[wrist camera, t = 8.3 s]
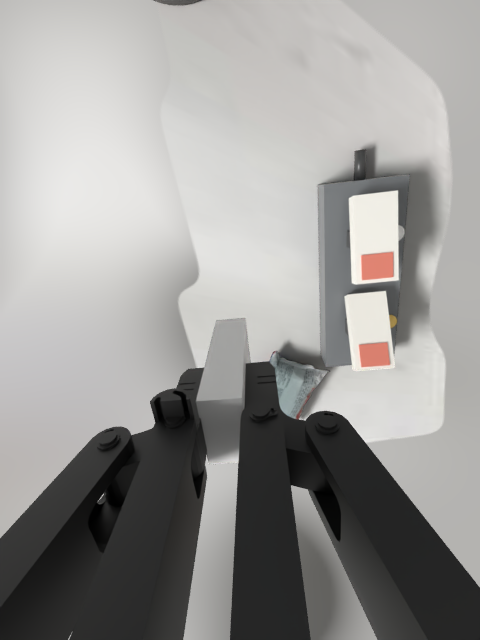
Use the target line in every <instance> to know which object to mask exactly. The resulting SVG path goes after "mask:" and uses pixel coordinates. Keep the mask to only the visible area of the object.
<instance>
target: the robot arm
mask: <svg viewBox="0 0 480 640" xmlns="http://www.w3.org/2000/svg"><path fill="white" fill-rule="evenodd" d="M154 1H157V2H160V3H163V4H168V5H186V4H191V3H194V2H197V1H200V0H154ZM150 404H151V408H152V411H153V414H154V419H155V425H154V427H153V428H152V429H150V430H147V431H144V432H141V433H138V434H134V435H131V434H130V432H129V430H128V429H127V428H124V427H112V428H109V429H106V430H104V431H102V432H100V433H98V434H97V435H96V436H95V437H93V438H92V439H91V440H90V441H89V442H88V444H87V445H86V446H85V447H84V448H83V449H82V450H81V451H80V452H79V453H78V454H77V456H76V457H75V458H74V459H73V460H72V461H71V462H70V463H69V464H68V465H67V466H66V468H65V469H64V470H63V471H62V472H61V473H60V474H59V475H58V476H57V477H56V478H55V479H54V481H53V482H52V483H51V484H50V485H49V486H48V487H47V488H46V489H45V490H44V491H43V493H42V494H41V495H40V496H39V497H38V498H37V499H36V500H35V501H34V502H33V503H32V505H31V506H30V507H29V508H28V509H27V510H26V511H25V513H23V514H22V515H21V516H20V518H19V519H18V520H17V521H16V522H15V523H14V524H13V525H12V526H11V527H10V528H9V530H8V531H7V532H6V533H5V534H4V535H3V536H2V537H1V538H0V640H68V638H69V636H70V635H71V637H70V639H69V640H183V637H184V630H185V623H186V616H187V610H188V603H189V596H190V589H191V582H192V575H193V569H194V562H195V555H196V548H197V541H198V535H199V528H200V521H201V514H202V507H203V500H204V493H205V487H206V480H207V473H206V467H205V461H206V455H207V458H208V463H209V464H218V463H235V462H239V464H238V484H237V485H238V486H237V506H236V526H235V547H234V568H233V569H234V570H233V589H232V610H231V631H230V634H231V635H230V640H311V639H310V631H309V624H308V616H307V608H306V601H305V592H304V585H303V577H302V569H301V562H300V554H299V546H298V538H297V532H296V523H295V515H294V507H293V500H292V492H291V485H293V486H297V487H301V488H305V489H308V491H309V494H310V496H311V498H312V500H313V503H314V505H315V507H316V509H317V511H318V513H319V515H320V518H321V520H322V522H323V524H324V526H325V528H326V530H327V533H328V535H329V537H330V539H331V541H332V543H333V545H334V548H335V550H336V552H337V554H338V556H339V558H340V560H341V562H342V565H343V567H344V569H345V571H346V573H347V575H348V577H349V580H350V582H351V584H352V586H353V588H354V590H355V592H356V594H357V596H358V599H359V601H360V603H361V605H362V607H363V610H364V612H365V614H366V616H367V618H368V620H369V622H370V624H371V626H372V629H373V631H374V633H375V635H376V637H377V639H378V640H480V587H479V586H478V585H477V584H476V582H475V581H474V580H473V579H472V577H471V576H470V575H469V573H468V572H467V571H466V570H465V569H464V567H463V566H462V565H461V563H460V562H459V561H458V560H457V559H456V557H455V556H454V554H453V553H452V552H451V551H450V549H449V548H448V547H447V546H446V545H445V543H444V542H443V541H442V539H441V538H440V537H439V536H438V534H437V533H436V532H435V530H434V529H433V528H432V527H431V526H430V524H429V523H428V522H427V520H426V519H425V518H424V516H423V515H422V514H421V513H420V512H419V510H418V509H417V508H416V506H415V505H414V504H413V503H412V501H411V500H410V499H409V497H408V496H407V495H406V494H405V493H404V491H403V490H402V489H401V487H400V486H399V485H398V484H397V482H396V481H395V480H394V478H393V477H392V476H391V475H390V473H389V472H388V471H387V470H386V468H385V467H384V466H383V465H382V463H381V462H380V461H379V459H378V458H377V457H376V456H375V455H374V453H373V452H372V451H371V449H370V448H369V447H368V446H367V444H366V443H365V442H364V440H363V439H362V438H361V437H360V435H359V434H358V433H357V432H356V430H355V429H354V428H353V427H352V425H351V424H350V423H349V421H348V420H347V419H345V418H344V417H343V416H342V415H340V414H337V413H335V412H330V411H320V412H316V413H313V414H311V415H310V416H309V417H308V418H307V419H306V421H304V420H298V419H294V418H292V417H289V416H287V415H286V414H285V413H284V412H283V411H282V410H281V408H280V404H279V397H278V389H277V382H276V374H275V367H274V366H273V365H272V364H271V363H270V362H257V363H251V361H250V353H249V344H248V336H247V327H246V319H245V318H238V319H227V320H217V321H216V324H215V327H214V331H213V335H212V339H211V343H210V347H209V351H208V355H207V359H206V363H205V367H204V368H195V369H188V370H187V371H186V372H184V373H183V374H182V375H181V377H180V380H179V383H178V385H177V388H176V389H169V390H166V391H163V392H161V393H159V394H157V395H156V396H155V397H153V399H152V400H151V401H150ZM103 493H104V495H103ZM102 495H103V497H102V498H101V499H100V497H101V496H102ZM99 499H100V500H99ZM98 500H99V501H98ZM72 631H73V632H72ZM71 633H72V634H71Z"/></svg>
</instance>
